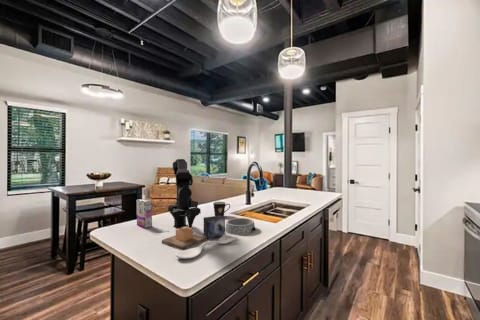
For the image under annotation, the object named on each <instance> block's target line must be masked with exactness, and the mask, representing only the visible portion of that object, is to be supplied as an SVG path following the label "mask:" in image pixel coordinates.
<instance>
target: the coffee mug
mask: <svg viewBox="0 0 480 320" xmlns="http://www.w3.org/2000/svg"><path fill="white" fill-rule="evenodd" d="M212 204H213V211H214V216H220V215H221V216H223V217H224V218H225V213H226V212H227V211H228V210H229V209H230V208H231V204H230V203H226V201H213V203H212ZM228 205H229V207H228V208H227V209H225V208H226V206H228Z"/></svg>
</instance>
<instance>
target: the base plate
mask: <svg viewBox="0 0 480 320" xmlns="http://www.w3.org/2000/svg"><path fill="white" fill-rule="evenodd" d="M205 241H208V240H207V237H204V236H203V235H200V234H197V233H193V238H192V239H189V240H186V241H180V240H177V239H176V234H174V235H173V236H169V237H166V238H163V239H161V244H163V245H166V246H169V247H172V248H175V249H178V250H181V251H184V250H188V249H190V248H192V247H193V246H196V245H198V244H201V243H203V242H205Z"/></svg>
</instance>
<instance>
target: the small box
mask: <svg viewBox="0 0 480 320" xmlns="http://www.w3.org/2000/svg"><path fill="white" fill-rule="evenodd" d="M225 228H226V218H225V216H224V217H223V216H221V215H220V216H215V215H214V216H206V217H205V216H204V217H203V235H202V236H204V237H207V240H206V241H208V240H209V241H210V240H212V239H213V240H214V239H220V238H221V237H222V236H223V235H224V234H225V233H226V232H225Z"/></svg>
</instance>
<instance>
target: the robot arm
mask: <svg viewBox="0 0 480 320" xmlns="http://www.w3.org/2000/svg"><path fill="white" fill-rule="evenodd" d="M172 171H173V174H174V175H175V186H176V199H175V200H176V201H175V203H174V204H170V205H169V206H168V207H167V211H168V212H169V214H171V216H172V218H173V219H174V221H173V224H174V225H173V226H172V227H173V228H176V229H179V228H182V227H189V228H192V226H193V224H194V221H195V218H196V217H197V216H199V215H200V214H201V208H199V207H198V205H199V201H195V200H192V199H193V198H192V193H193V192H192V190H191V188H190V186H193V184H194V180H193V175H192V173H190V170H189V169H188V162H187V161H186V159H185V158H177V159H175V161H173V162H172ZM187 223H188V224H187Z"/></svg>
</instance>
